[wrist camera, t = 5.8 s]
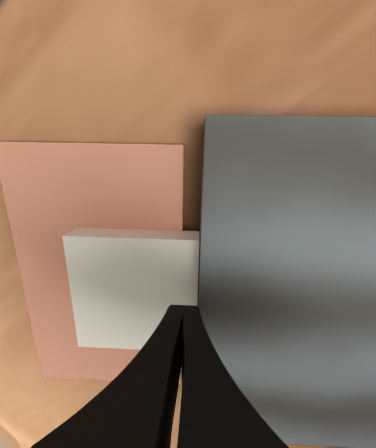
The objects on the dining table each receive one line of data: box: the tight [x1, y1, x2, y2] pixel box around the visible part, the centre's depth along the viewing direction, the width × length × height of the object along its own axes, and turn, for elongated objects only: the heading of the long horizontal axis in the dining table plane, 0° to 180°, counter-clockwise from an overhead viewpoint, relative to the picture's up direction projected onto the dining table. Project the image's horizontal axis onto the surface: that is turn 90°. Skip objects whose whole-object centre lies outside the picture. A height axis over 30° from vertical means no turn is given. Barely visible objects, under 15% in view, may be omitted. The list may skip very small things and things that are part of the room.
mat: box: [0, 142, 184, 384], centre depth 14 cm, size 16×10×1 cm, turn 179°
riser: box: [197, 115, 376, 448], centre depth 13 cm, size 18×12×3 cm, turn 179°
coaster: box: [62, 227, 199, 350], centre depth 13 cm, size 7×7×2 cm
